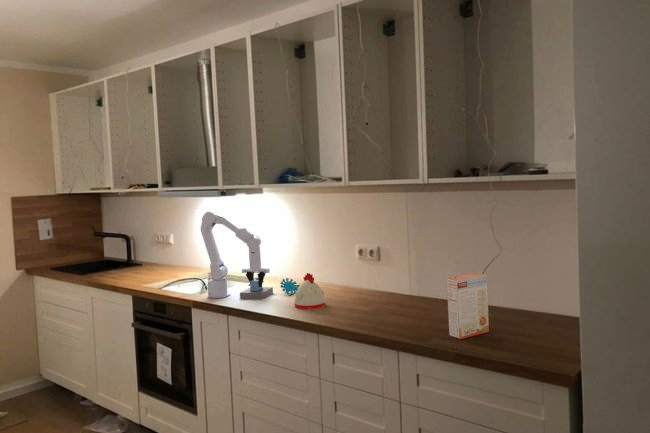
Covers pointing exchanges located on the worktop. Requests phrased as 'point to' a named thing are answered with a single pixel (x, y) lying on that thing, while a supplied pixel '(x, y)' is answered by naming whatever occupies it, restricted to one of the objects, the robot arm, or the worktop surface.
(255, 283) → the servo
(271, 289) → the chassis
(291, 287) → the gear
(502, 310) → the worktop surface
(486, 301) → the cracker box
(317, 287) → the white and red dome
